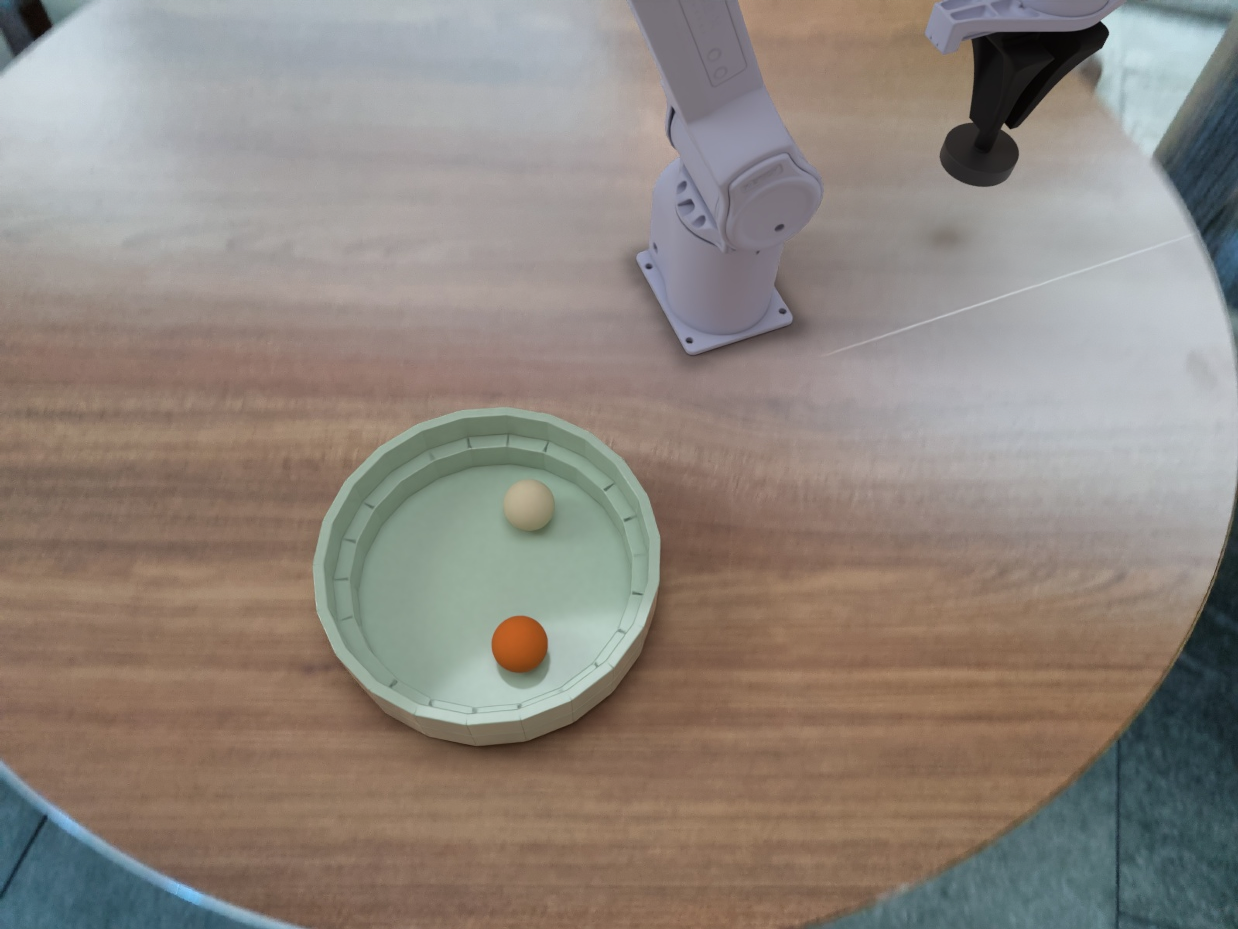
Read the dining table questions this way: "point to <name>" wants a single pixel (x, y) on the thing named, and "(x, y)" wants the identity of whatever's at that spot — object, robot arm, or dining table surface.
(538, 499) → the beige ball
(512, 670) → the orange ball
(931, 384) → the dining table surface
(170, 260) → the dining table surface
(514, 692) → the bowl
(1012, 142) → the black peg stand
